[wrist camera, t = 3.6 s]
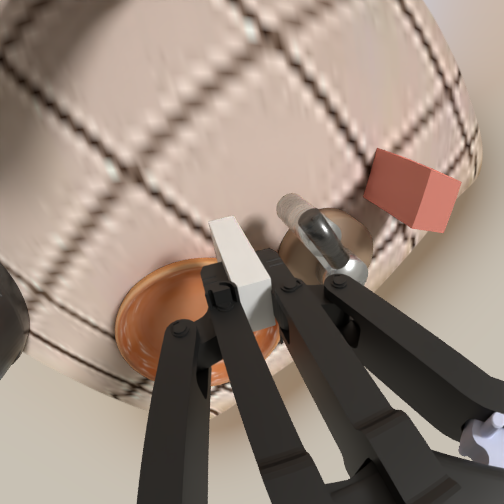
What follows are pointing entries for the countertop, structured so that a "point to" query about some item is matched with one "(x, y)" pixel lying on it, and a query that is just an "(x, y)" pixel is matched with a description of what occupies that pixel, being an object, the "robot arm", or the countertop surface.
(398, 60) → the countertop surface
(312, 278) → the hub plate
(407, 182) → the block
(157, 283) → the saucer
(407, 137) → the countertop surface
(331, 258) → the crank
